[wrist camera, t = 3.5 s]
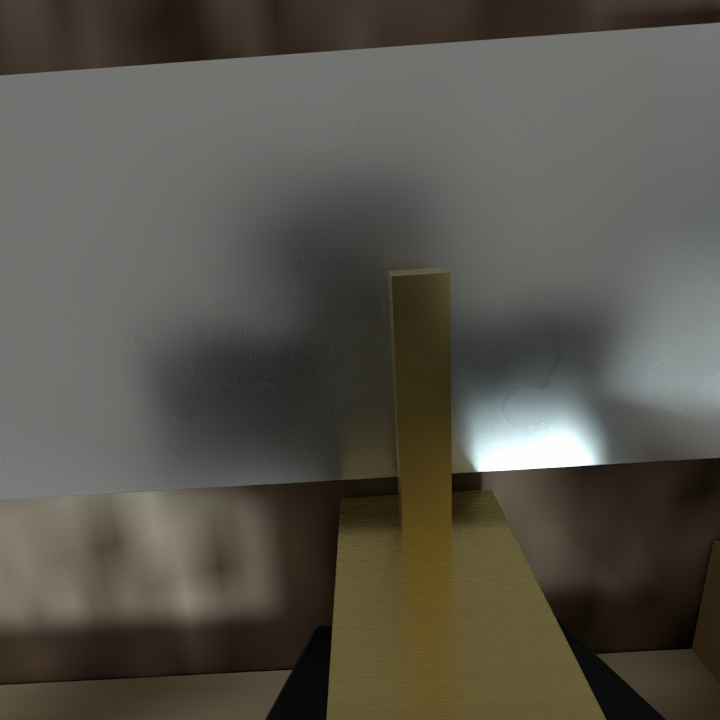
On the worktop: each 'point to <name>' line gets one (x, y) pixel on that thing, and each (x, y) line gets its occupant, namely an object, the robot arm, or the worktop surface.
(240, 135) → the bolt plate
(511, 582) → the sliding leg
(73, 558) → the worktop surface
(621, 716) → the robot arm
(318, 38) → the worktop surface
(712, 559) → the trammel beam
